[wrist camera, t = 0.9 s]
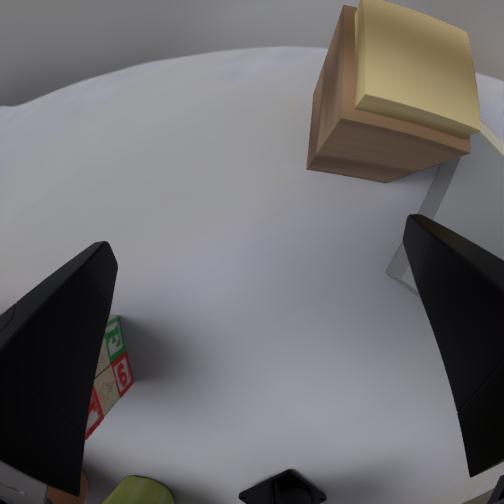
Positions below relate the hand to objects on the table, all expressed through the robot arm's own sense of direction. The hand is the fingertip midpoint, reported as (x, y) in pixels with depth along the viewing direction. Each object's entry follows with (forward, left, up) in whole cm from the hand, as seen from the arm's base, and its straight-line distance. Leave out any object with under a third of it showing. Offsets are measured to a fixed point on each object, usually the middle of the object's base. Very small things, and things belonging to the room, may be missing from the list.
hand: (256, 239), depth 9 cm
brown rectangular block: (+1, -9, -13) cm, 16 cm away
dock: (-12, -13, -13) cm, 22 cm away
